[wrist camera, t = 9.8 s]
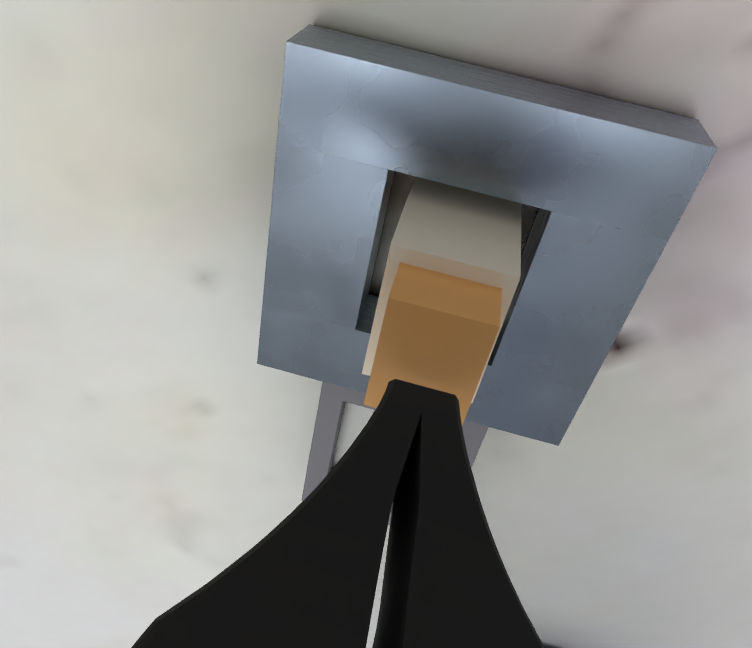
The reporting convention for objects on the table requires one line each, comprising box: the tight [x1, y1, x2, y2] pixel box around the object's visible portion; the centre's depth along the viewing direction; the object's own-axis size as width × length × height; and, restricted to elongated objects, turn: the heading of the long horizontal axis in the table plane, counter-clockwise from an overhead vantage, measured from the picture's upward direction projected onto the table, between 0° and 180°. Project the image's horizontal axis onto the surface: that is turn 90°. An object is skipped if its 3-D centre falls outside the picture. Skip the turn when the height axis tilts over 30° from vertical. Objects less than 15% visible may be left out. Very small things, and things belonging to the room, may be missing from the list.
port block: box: [257, 24, 717, 445], centre depth 18 cm, size 10×10×2 cm
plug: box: [362, 176, 522, 425], centre depth 17 cm, size 3×4×6 cm
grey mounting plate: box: [302, 382, 488, 525], centre depth 24 cm, size 6×7×1 cm
